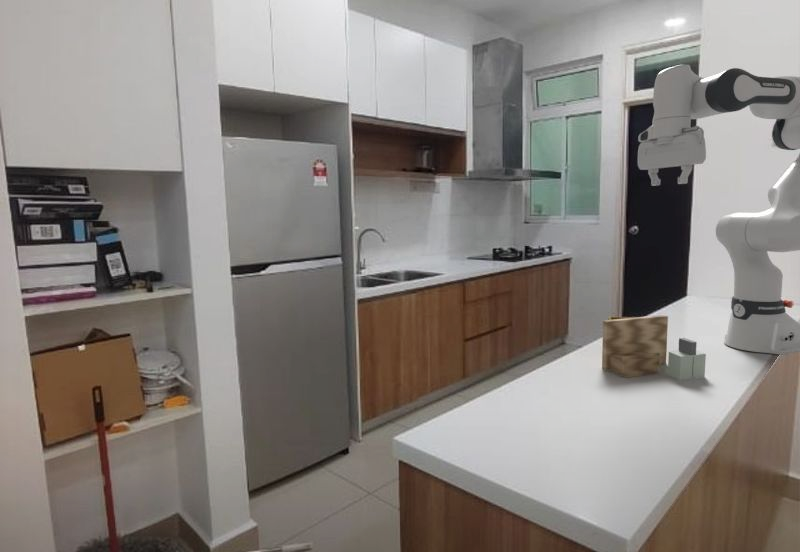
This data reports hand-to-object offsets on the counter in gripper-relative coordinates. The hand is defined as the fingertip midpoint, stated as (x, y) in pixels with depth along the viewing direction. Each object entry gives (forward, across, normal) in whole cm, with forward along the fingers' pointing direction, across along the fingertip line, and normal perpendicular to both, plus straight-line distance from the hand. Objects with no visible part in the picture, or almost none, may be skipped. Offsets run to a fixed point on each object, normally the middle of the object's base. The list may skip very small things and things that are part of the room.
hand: (668, 184), depth 130 cm
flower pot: (+48, +8, +5) cm, 48 cm away
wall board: (+47, -7, +12) cm, 49 cm away
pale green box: (+47, -15, +6) cm, 50 cm away
